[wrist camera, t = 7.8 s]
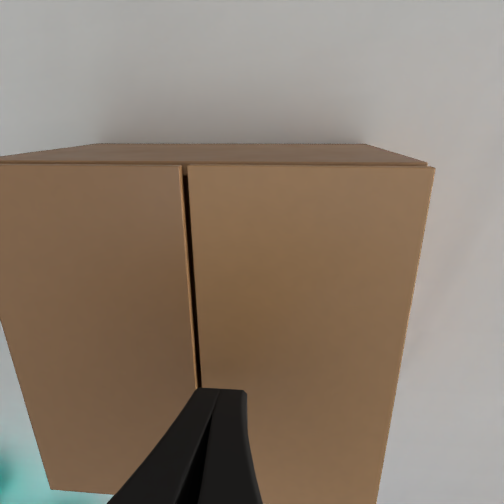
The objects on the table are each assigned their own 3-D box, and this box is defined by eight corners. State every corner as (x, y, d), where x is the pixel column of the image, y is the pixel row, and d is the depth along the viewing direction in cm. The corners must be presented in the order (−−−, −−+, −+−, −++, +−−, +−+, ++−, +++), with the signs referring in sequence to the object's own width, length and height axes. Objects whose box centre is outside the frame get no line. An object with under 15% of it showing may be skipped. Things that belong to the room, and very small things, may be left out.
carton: (366, 144, 16) (440, 165, 9) (341, 371, 21) (376, 517, 13) (97, 143, 17) (-50, 162, 10) (130, 360, 22) (48, 490, 14)
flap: (431, 166, 9) (436, 168, 9) (372, 507, 13) (374, 516, 13) (189, 163, 9) (186, 165, 9) (210, 490, 14) (209, 498, 14)
